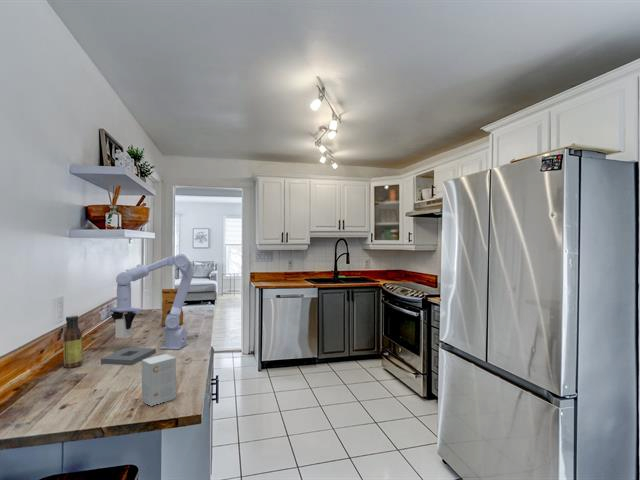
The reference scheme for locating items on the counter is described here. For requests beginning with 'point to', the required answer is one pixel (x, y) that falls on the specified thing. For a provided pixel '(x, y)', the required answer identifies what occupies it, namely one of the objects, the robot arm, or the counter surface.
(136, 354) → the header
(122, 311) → the robot arm
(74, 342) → the sauce bottle
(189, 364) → the counter surface
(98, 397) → the counter surface
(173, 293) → the coffee package
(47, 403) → the counter surface
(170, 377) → the small box
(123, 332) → the plug
